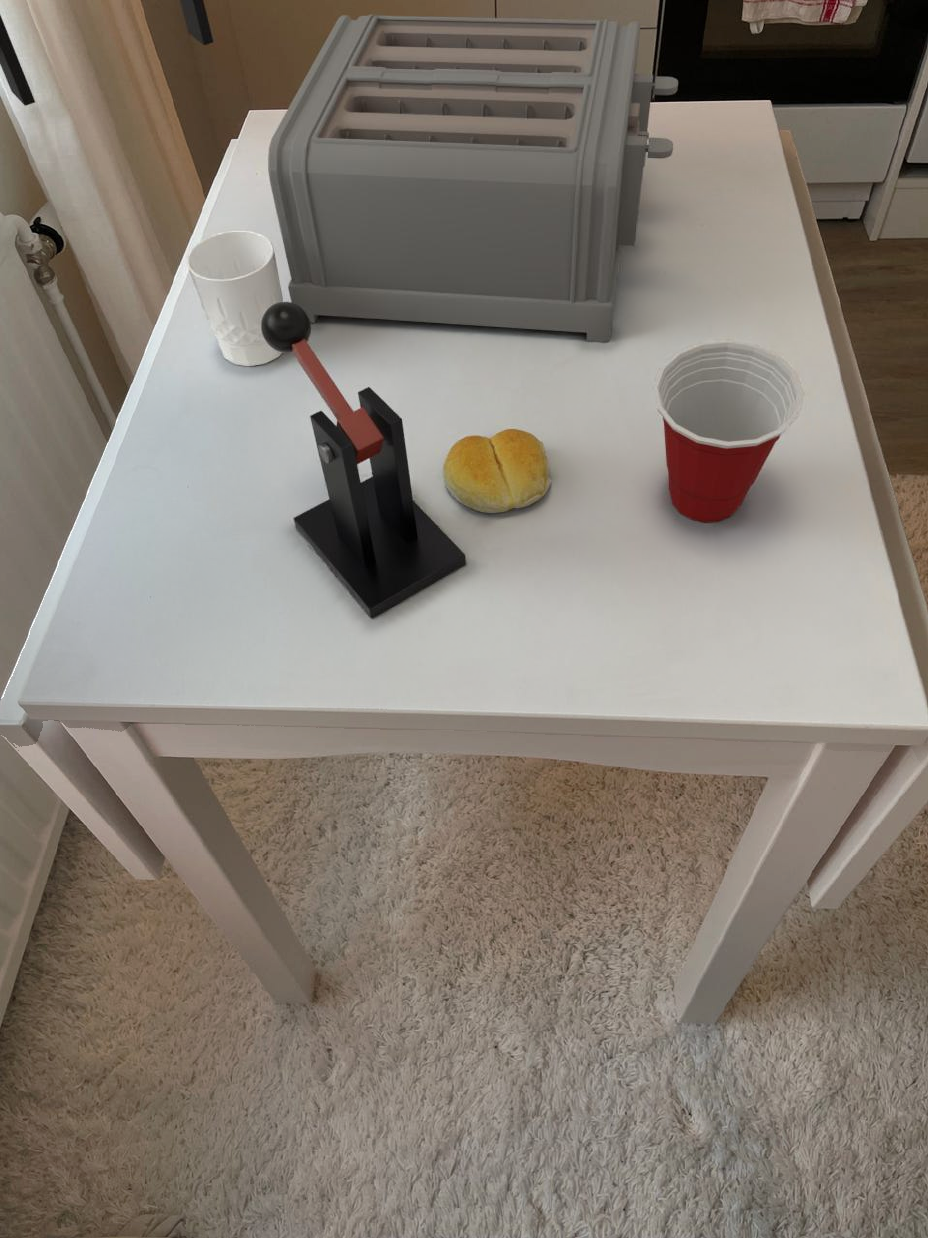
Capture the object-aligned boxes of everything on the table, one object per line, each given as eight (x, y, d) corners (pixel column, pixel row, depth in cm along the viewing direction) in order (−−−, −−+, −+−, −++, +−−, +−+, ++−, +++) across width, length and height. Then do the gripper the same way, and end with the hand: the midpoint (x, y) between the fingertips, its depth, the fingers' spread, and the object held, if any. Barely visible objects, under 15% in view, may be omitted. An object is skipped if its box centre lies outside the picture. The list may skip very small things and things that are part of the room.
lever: (252, 331, 71) (251, 303, 68) (294, 313, 72) (295, 283, 69) (346, 473, 69) (350, 451, 66) (387, 452, 70) (393, 429, 67)
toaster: (649, 345, 91) (673, 169, 77) (293, 321, 96) (255, 151, 82) (664, 175, 109) (685, 7, 95) (362, 162, 114) (340, 0, 100)
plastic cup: (615, 518, 79) (628, 406, 69) (670, 438, 84) (689, 323, 74) (740, 568, 75) (773, 457, 65) (790, 480, 80) (826, 365, 70)
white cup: (311, 340, 94) (291, 248, 86) (252, 381, 91) (225, 291, 83) (257, 310, 98) (234, 220, 90) (198, 350, 94) (168, 259, 86)
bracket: (295, 527, 80) (258, 399, 69) (386, 479, 82) (364, 348, 71) (371, 619, 74) (344, 495, 62) (466, 564, 76) (456, 436, 65)
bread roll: (438, 457, 84) (434, 422, 81) (538, 441, 84) (538, 406, 81) (452, 525, 79) (449, 492, 76) (558, 509, 79) (560, 474, 76)
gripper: (-254, -300, 45) (-41, 145, 62) (218, -386, 53) (292, 31, 70) (-283, -323, 49) (-74, 103, 66) (162, -400, 57) (245, -1, 74)
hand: (115, 66), depth 68 cm, fingers open, 13 cm apart
